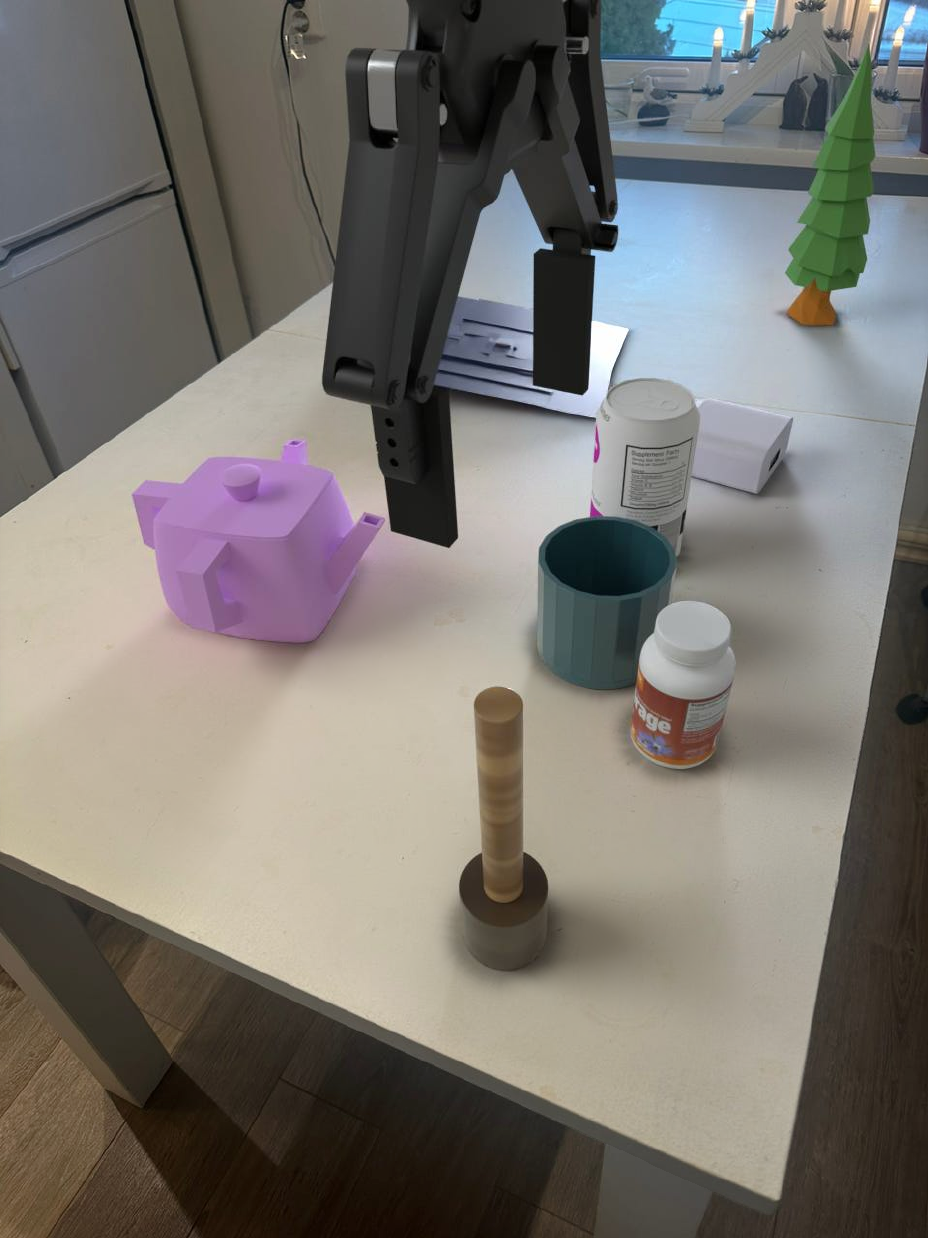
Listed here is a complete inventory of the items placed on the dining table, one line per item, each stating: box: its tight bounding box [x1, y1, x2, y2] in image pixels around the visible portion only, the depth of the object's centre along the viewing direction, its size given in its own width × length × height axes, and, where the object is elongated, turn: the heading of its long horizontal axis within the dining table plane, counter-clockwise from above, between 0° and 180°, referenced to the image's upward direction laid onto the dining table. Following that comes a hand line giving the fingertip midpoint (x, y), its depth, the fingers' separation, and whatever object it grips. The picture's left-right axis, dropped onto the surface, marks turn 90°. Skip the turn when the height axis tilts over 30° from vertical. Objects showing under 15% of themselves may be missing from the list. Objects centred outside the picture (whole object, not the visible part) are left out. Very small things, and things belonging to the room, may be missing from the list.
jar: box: [536, 516, 678, 690], centre depth 67 cm, size 10×10×9 cm
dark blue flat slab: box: [357, 295, 629, 419], centre depth 107 cm, size 24×30×4 cm
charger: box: [692, 397, 794, 495], centre depth 89 cm, size 5×9×15 cm
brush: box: [458, 685, 549, 972], centre depth 45 cm, size 5×5×20 cm
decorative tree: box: [784, 43, 877, 327], centre depth 103 cm, size 10×9×30 cm
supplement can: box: [589, 377, 701, 558], centre depth 74 cm, size 8×8×15 cm
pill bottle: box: [629, 600, 737, 770], centre depth 59 cm, size 6×6×11 cm
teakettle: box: [131, 438, 386, 644], centre depth 73 cm, size 17×17×12 cm
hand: (499, 453), depth 39 cm, fingers open, 13 cm apart
